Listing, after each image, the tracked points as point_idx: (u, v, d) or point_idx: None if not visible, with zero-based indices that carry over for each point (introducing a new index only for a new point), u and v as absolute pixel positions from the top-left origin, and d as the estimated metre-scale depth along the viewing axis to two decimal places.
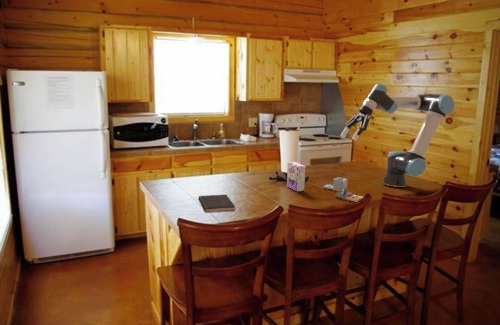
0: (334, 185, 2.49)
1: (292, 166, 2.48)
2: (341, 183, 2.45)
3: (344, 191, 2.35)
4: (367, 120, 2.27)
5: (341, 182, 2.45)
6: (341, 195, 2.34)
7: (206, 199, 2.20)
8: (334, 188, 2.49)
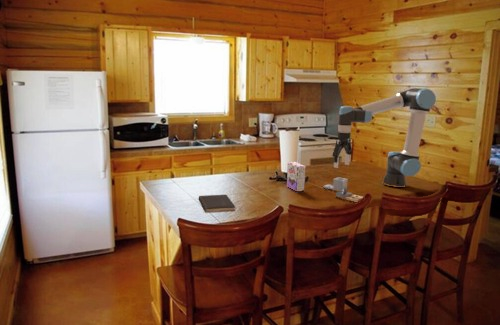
0: (334, 185, 2.49)
1: (292, 166, 2.48)
2: (341, 183, 2.45)
3: (344, 191, 2.35)
4: (337, 146, 2.39)
5: (341, 182, 2.45)
6: (341, 195, 2.34)
7: (206, 199, 2.20)
8: (334, 188, 2.49)
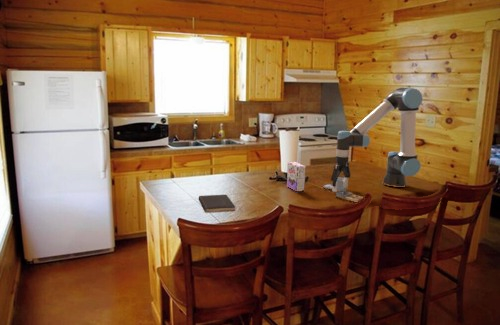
0: None
1: (292, 166, 2.48)
2: (341, 183, 2.45)
3: (344, 191, 2.35)
4: (335, 170, 2.42)
5: (341, 182, 2.45)
6: (341, 195, 2.34)
7: (206, 199, 2.20)
8: None
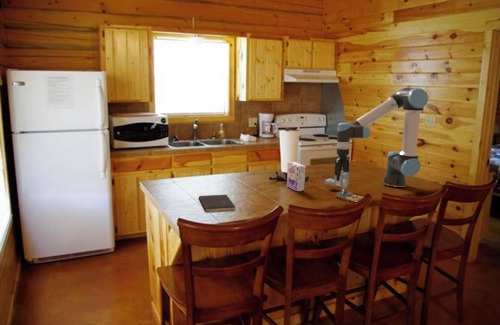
0: (335, 179, 2.48)
1: (292, 166, 2.48)
2: (342, 177, 2.45)
3: (344, 191, 2.35)
4: (337, 165, 2.42)
5: (342, 176, 2.45)
6: (341, 195, 2.34)
7: (206, 199, 2.20)
8: (335, 182, 2.49)
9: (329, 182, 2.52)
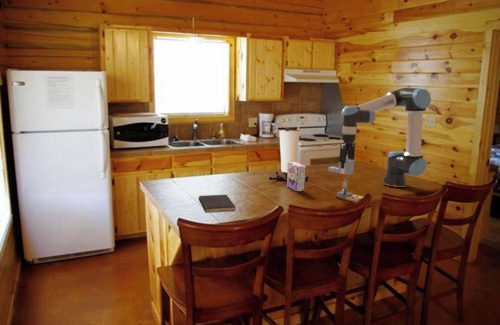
0: (340, 166, 2.32)
1: (292, 166, 2.48)
2: (347, 164, 2.28)
3: (344, 191, 2.35)
4: (342, 151, 2.26)
5: (347, 163, 2.28)
6: (341, 195, 2.34)
7: (206, 199, 2.20)
8: None
9: (333, 170, 2.36)
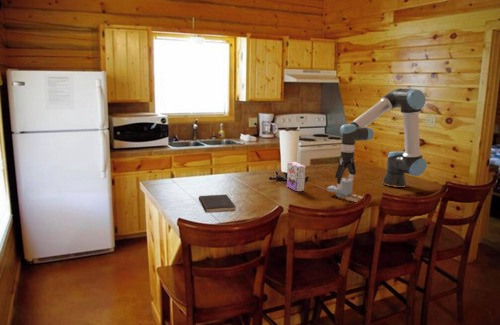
0: None
1: (292, 166, 2.48)
2: (346, 184, 2.31)
3: None
4: (340, 166, 2.27)
5: (346, 183, 2.31)
6: (341, 195, 2.34)
7: (206, 199, 2.20)
8: (338, 189, 2.35)
9: (331, 189, 2.38)
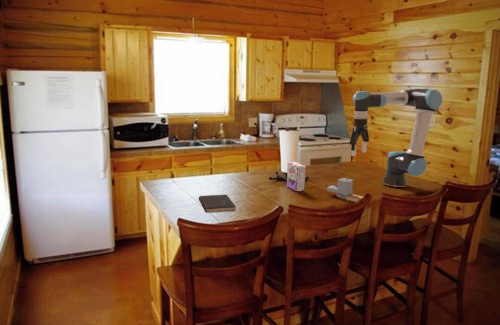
0: (338, 186, 2.35)
1: (292, 166, 2.48)
2: (346, 184, 2.31)
3: None
4: (354, 133, 2.28)
5: (346, 183, 2.31)
6: (341, 195, 2.34)
7: (206, 199, 2.20)
8: (338, 189, 2.35)
9: (331, 189, 2.38)
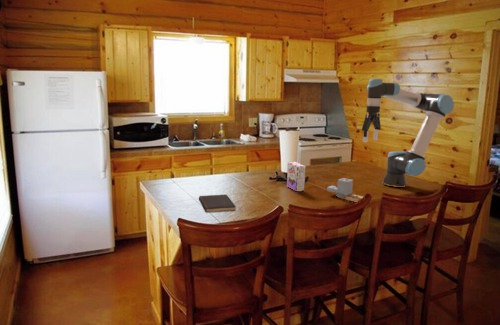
0: (338, 186, 2.35)
1: (292, 166, 2.48)
2: (346, 184, 2.31)
3: None
4: (366, 119, 2.32)
5: (346, 183, 2.31)
6: (341, 195, 2.34)
7: (206, 199, 2.20)
8: (338, 189, 2.35)
9: (331, 189, 2.38)
